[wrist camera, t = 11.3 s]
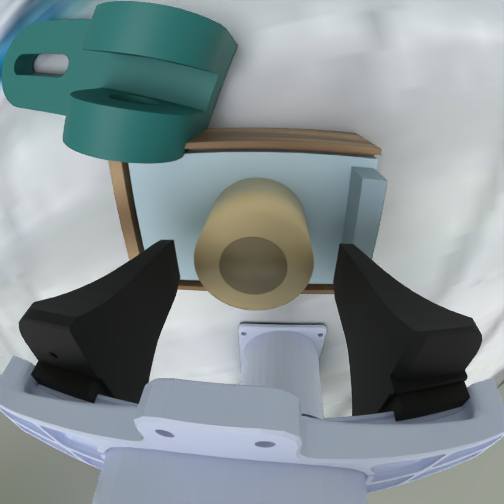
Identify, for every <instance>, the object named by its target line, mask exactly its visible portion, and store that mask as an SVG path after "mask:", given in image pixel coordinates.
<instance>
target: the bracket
mask: <svg viewBox="0 0 504 504" xmlns="http://www.w3.org/2000/svg"><path fill="white" fill-rule="evenodd" d="M237 46H238V45H237V43H236V42H235V40H234V39H233V37H232V36H231V35H230V33H229V32H228V30H227V29H226V28H225V27H223V26H222V25H220V24H218V23H217V22H215V21H213V20H211V19H208V18H206V17H203V16H201V15H198V14H195V13H192V12H189V11H186V10H182V9H179V8H175V7H170V6H165V5H160V4H154V3H147V2H136V1H114V2H106V3H102V4H99V5H97V7H96V9H95V12H94V14H93V17H92V19H66V20H51V21H40V22H35V23H32V24H30V25H29V26H27V27H26V28H24V29H23V30H22V31H21V32H20V33H19V34H18V35H17V36H16V38H15V39H14V40H13V42H12V43H11V45H10V47H9V49H8V51H7V54H6V56H5V59H4V63H3V68H2V87H3V91H4V94H5V96H6V98H7V100H8V101H9V102H10V103H11V104H12V105H13V106H16V107H19V108H25V109H32V110H38V111H44V112H49V113H55V114H60V115H65V116H66V119H65V125H64V132H63V142H64V143H65V144H66V145H67V146H68V147H69V148H71V149H73V150H75V151H77V152H79V153H82V154H85V155H88V156H92V157H96V158H100V159H105V160H111V161H118V162H126V163H142V164H154V163H166V162H172V161H176V160H178V159H181V158H182V157H183V156H184V154H185V153H186V152H187V151H188V149H184V148H185V145H186V143H187V142H188V141H190V140H191V139H193V138H194V137H196V136H197V135H199V134H200V133H202V132H203V131H205V130H206V129H207V126H208V123H209V120H210V117H211V114H212V112H213V109H214V106H215V103H216V100H217V98H218V95H219V92H220V89H221V87H222V84H223V81H224V79H225V76H226V73H227V71H228V68H229V66H230V63H231V61H232V58H233V56H234V53H235V51H236V48H237ZM39 54H65V55H66V56H67V57H68V59H69V66H68V69H67V71H66V72H65V74H64V75H57V74H44V73H35V72H34V71H33V67H32V66H33V61H34V59H35V57H36V56H37V55H39Z"/></svg>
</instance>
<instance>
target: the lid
mask: <svg viewBox="0 0 504 504" xmlns="http://www.w3.org/2000/svg"><path fill="white" fill-rule="evenodd" d="M128 164H129V170H130V177H131V183H132V189H133V195H134V201H135V206H136V212H137V217H138V222H139V227H140V232H141V236H142V241H143V246H144V250H146V249H147V248H148V247H150V246H151V245H153V244H154V243H156V242H158V241H160V240H174V243H175V249H176V255H177V261H178V267H179V272H180V280H199V278H198V276H197V273H196V271H195V266H194V250H195V247H196V244H197V241H198V239H199V237H200V234H201V232H202V230H203V228H204V225H205V223H206V221H207V218H208V216H209V214H210V212H211V210H212V207H213V205H214V203H215V201H216V199H217V198H218V196H219V195H220V194H221V193H222V191H223V190H225V189H226V188H227V187H228V186H230V185H231V184H233V183H235V182H237V181H240V180H243V179H247V178H267V179H271V180H274V181H277V182H279V183H281V184H283V185H285V186H286V187H287V188H289V189H290V190H291V191H292V192H293V193H294V194H295V195H296V196H297V198H298V199H299V201H300V203H301V205H302V207H303V210H304V214H305V219H306V223H307V227H308V232H309V237H310V241H311V246H312V251H313V256H314V269H313V273H312V277H311V279H310V281H309V283H308V284H333V278H334V273H335V267H336V262H337V256H338V250H339V243H343V244H354V245H355V246H356V247H358V248H359V249H360V250H361V251H362V252H363V253H365V254H366V255H367V256H368V257H369V258H370V259H371V260H372V256H373V252H374V248H375V243H376V239H377V234H378V229H379V225H380V220H381V214H382V209H383V204H384V198H385V192H386V186H387V180H386V179H385V178H384V177H383V176H382V175H380V174H379V173H378V172H377V165H378V159H377V158H376V157H374V156H369V155H359V154H349V153H337V152H323V151H305V150H279V149H221V150H194V151H187V152H186V153H185V154H184V156H183V157H182V158H181V159H178V160H176V161H172V162H166V163H154V164H142V163H128Z"/></svg>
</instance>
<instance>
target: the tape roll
mask: <svg viewBox="0 0 504 504" xmlns="http://www.w3.org/2000/svg"><path fill="white" fill-rule="evenodd" d="M194 266H195V271H196V273H197V276H198V278H199V280H200V282H201V283H202V285H203V286H204V287H205V288H206V290H207V291H208V292H209V293H210V294H212V295H213V296H214V297H215V298H217V299H218V300H220V301H222V302H224V303H225V304H228V305H230V306H233V307H236V308H240V309H245V310H267V309H272V308H276V307H279V306H282V305H284V304H286V303H288V302H290V301H292V300H293V299H294V298H296V297H297V296H298V295H299V294H300V293H301V292H302V291H303V290H304V289H305V288H306V286H307V285H308V283H309V281H310V279H311V277H312V273H313V269H314V256H313V251H312V246H311V241H310V237H309V232H308V227H307V223H306V219H305V214H304V210H303V207H302V205H301V203H300V201H299V199H298V198H297V196H296V195H295V194H294V193H293V192H292V191H291V190H290V189H289V188H287V187H286V186H285V185H283V184H281V183H279V182H277V181H274V180H271V179H267V178H247V179H243V180H240V181H237V182H235V183H233V184H231V185H230V186H228V187H227V188H226V189H225V190H223V191H222V193H221V194H220V195H219V196H218V198H217V199H216V201H215V203H214V205H213V207H212V210H211V212H210V214H209V216H208V218H207V221H206V223H205V225H204V228H203V230H202V232H201V234H200V237H199V239H198V241H197V244H196V247H195V250H194Z"/></svg>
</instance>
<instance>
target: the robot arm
mask: <svg viewBox="0 0 504 504" xmlns="http://www.w3.org/2000/svg"><path fill="white" fill-rule="evenodd" d="M179 281H180V272H179V267H178V261H177V255H176V249H175V243H174V240H160V241H158V242H156V243H154V244H153V245H151V246H150V247H148V248H147V249H146V250H144V251H143V252H141V253H140V254H138V255H137V256H136V257H134V258H133V259H131V260H130V261H128V262H127V263H125V264H124V265H122V266H121V267H119V268H117V269H116V270H114V271H113V272H111V273H109V274H108V275H106V276H104V277H102V278H100V279H98V280H96V281H94V282H92V283H90V284H88V285H85V286H83V287H81V288H79V289H76V290H74V291H71V292H68V293H65V294H62V295H59V296H56V297H53V298H49V299H45V300H41V301H37V302H34V303H33V304H32V305H31V306H30V308H29V309H28V310H27V312H26V313H25V314H24V315H23V317H22V318H21V320H20V321H19V330H20V332H21V335H22V337H23V339H24V340H25V342H26V343H27V345H28V346H29V348H30V349H31V351H32V352H33V354H34V355H35V356H36V358H37V359H38V360H39V361H38V363H37V364H36V366H34V365H33V364H32V363H31V362H29V361H26V360H24V359H21V358H19V357H16V356H13V357H12V359H11V361H10V362H9V364H8V366H7V367H6V369H5V371H4V372H3V374H2V376H1V377H0V410H1V411H2V412H3V413H4V414H5V415H6V416H7V417H8V418H9V419H10V420H11V421H13V422H14V423H15V424H16V425H17V426H18V427H20V428H21V429H22V430H23V431H25V432H27V433H29V434H30V435H32V436H34V437H36V438H38V439H39V440H41V441H43V442H45V443H47V444H48V445H50V446H52V447H54V448H56V449H58V450H60V451H62V452H64V453H66V454H68V455H70V456H72V457H74V458H76V459H79V460H80V461H82V462H85V463H87V464H89V465H91V466H94V467H96V468H99V469H101V473H100V477H99V480H98V484H97V487H96V491H95V494H94V498H93V502H92V504H367V493H370V492H375V491H379V490H383V489H387V488H391V487H395V486H398V485H401V484H405V483H408V482H411V481H414V480H417V479H420V478H423V477H426V476H429V475H432V474H434V473H437V472H440V471H442V470H445V469H448V468H451V467H453V466H455V465H458V464H460V463H463V462H465V461H468V460H470V459H472V458H474V457H476V456H478V455H479V454H480V453H482V452H483V451H485V450H486V449H488V448H489V447H490V446H492V445H493V444H494V443H496V442H497V441H498V440H499V439H501V438H502V437H504V403H503V401H502V398H501V396H500V393H499V391H498V389H497V386H496V384H495V382H494V379H493V378H490V379H487V380H484V381H480V382H477V383H474V384H472V385H470V386H469V387H466V385H465V382H464V381H466V379H467V374H466V372H465V369H466V368H467V366H468V365H469V363H470V362H471V361H472V359H473V358H474V356H475V355H476V354H477V352H478V350H479V348H480V346H481V342H482V335H481V333H480V331H479V329H478V327H477V326H476V324H475V322H474V320H473V319H472V318H470V317H467V316H465V315H462V314H459V313H456V312H453V311H450V310H448V309H446V308H444V307H441V306H439V305H437V304H435V303H433V302H431V301H429V300H427V299H425V298H423V297H422V296H420V295H418V294H416V293H415V292H413V291H411V290H410V289H408V288H407V287H405V286H404V285H402V284H401V283H400V282H398V281H397V280H395V279H394V278H393V277H392V276H390V275H389V274H388V273H386V272H385V271H384V270H383V269H382V268H380V267H379V266H378V265H377V264H376V263H375V262H374V261H372V260H371V259H370V258H369V257H368V256H367V255H366V254H365V253H363V252H362V251H361V250H360V249H359V248H358V247H356V246H355V245H354V244H343V243H339V250H338V256H337V262H336V267H335V273H334V278H333V286H334V294H335V301H336V305H337V308H338V312H339V316H340V319H341V323H342V327H343V331H344V334H345V338H346V343H347V348H348V355H349V364H350V374H351V387H352V416H350V417H338V418H324V414H323V403H322V392H321V382H320V372H319V363H318V362H319V359H320V355H321V351H322V347H323V343H324V339H325V335H326V326H324V325H274V324H240V325H239V327H238V334H239V349H240V364H241V384H240V385H235V384H222V383H210V382H200V381H191V380H182V379H175V378H159V379H154V380H153V381H151V382H149V376H150V371H151V367H152V362H153V358H154V354H155V350H156V346H157V342H158V339H159V336H160V333H161V331H162V328H163V326H164V323H165V321H166V318H167V316H168V313H169V311H170V309H171V306H172V304H173V301H174V299H175V296H176V293H177V289H178V285H179ZM319 333H321V334H319ZM148 382H149V383H148Z"/></svg>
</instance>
